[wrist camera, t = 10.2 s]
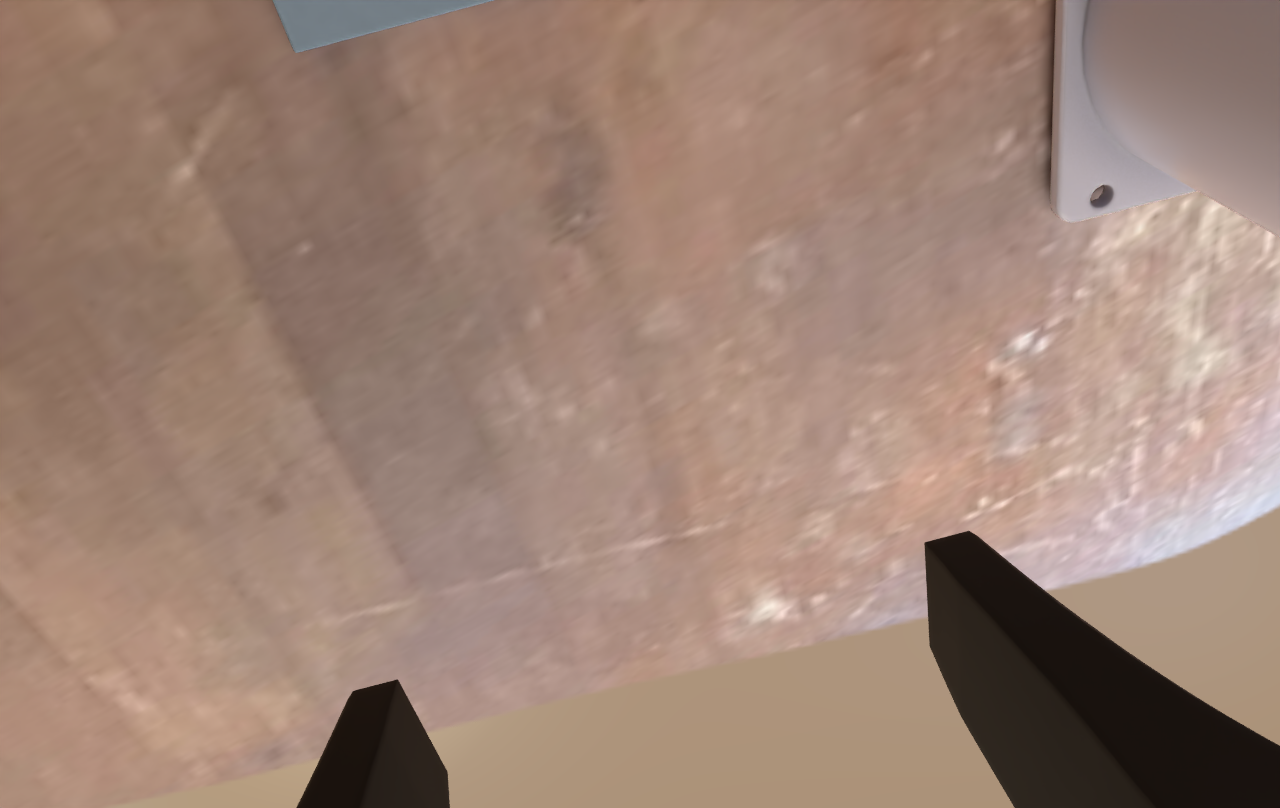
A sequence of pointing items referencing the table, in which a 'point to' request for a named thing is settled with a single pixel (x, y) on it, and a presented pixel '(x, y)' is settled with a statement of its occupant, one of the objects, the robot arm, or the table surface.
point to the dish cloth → (354, 17)
